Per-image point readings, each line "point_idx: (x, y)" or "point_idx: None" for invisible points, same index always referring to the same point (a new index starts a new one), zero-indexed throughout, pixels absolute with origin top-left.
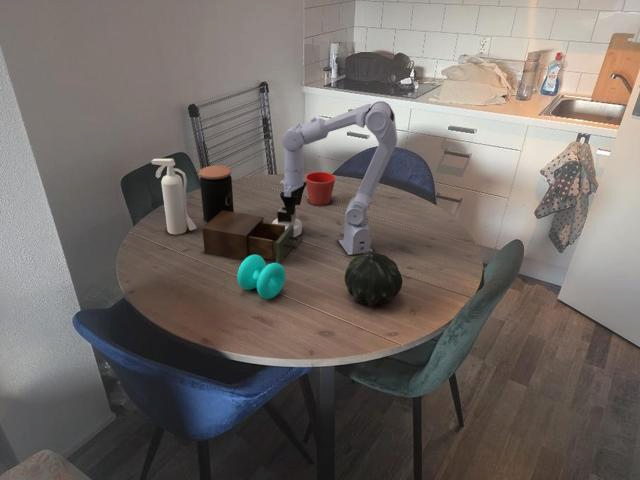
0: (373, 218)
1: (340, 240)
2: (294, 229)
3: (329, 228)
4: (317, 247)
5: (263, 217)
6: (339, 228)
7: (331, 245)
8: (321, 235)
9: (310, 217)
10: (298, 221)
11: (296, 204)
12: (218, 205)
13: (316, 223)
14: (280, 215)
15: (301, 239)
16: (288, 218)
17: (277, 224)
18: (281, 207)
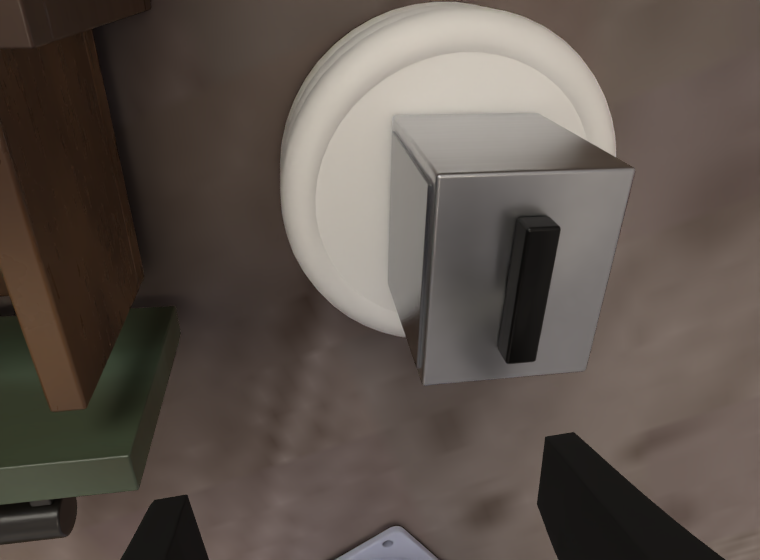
0: (728, 554)
1: (395, 539)
2: (348, 316)
3: (570, 422)
4: (265, 455)
5: (14, 48)
6: None
7: (331, 506)
8: (452, 416)
9: (747, 248)
10: None
11: (545, 476)
12: None
13: (640, 324)
14: (414, 201)
15: (34, 539)
16: (404, 296)
17: (46, 317)
18: (577, 188)
